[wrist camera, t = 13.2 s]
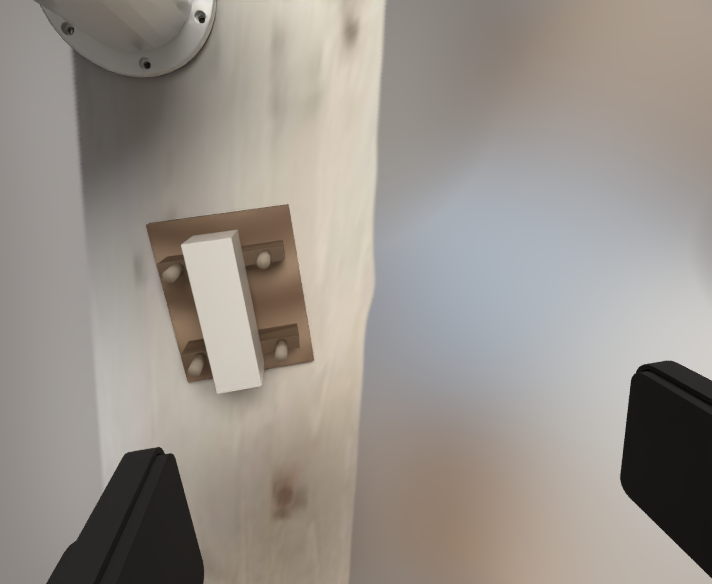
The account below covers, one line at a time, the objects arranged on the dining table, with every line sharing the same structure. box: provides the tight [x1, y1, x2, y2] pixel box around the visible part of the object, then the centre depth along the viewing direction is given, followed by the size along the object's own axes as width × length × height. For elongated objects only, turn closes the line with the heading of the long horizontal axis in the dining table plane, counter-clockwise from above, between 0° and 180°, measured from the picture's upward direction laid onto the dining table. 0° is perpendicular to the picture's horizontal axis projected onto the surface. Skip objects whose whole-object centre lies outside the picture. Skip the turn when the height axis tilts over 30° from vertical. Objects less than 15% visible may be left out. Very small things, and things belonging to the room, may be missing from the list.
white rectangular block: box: [181, 230, 265, 394], centre depth 34 cm, size 12×4×4 cm, turn 7°
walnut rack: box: [146, 204, 314, 382], centre depth 37 cm, size 15×12×7 cm
